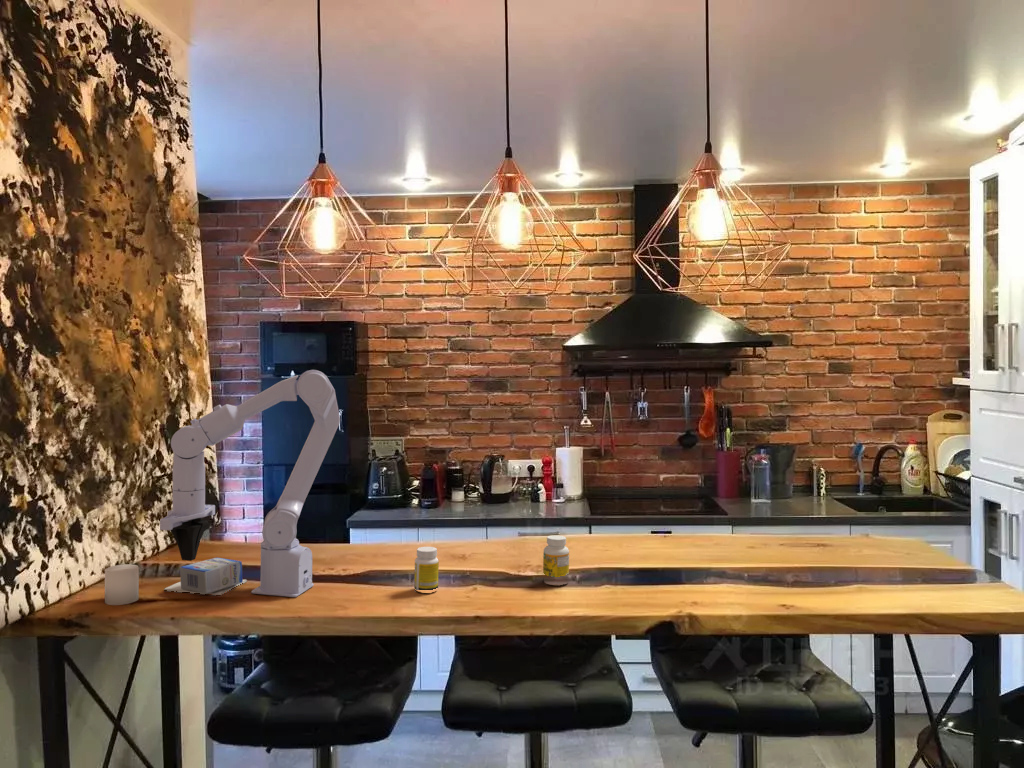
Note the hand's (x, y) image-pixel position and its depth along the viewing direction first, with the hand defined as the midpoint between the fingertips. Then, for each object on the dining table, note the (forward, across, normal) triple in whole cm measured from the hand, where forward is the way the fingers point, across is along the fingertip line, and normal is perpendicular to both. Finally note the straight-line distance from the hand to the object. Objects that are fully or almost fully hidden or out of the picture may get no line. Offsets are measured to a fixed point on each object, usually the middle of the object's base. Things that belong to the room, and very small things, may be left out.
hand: (188, 559), depth 144 cm
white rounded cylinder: (+7, +6, -10) cm, 13 cm away
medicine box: (+4, 0, 0) cm, 4 cm away
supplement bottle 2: (+7, -26, +68) cm, 73 cm away
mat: (+7, -6, 0) cm, 9 cm away
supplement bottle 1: (+7, -14, +43) cm, 46 cm away
